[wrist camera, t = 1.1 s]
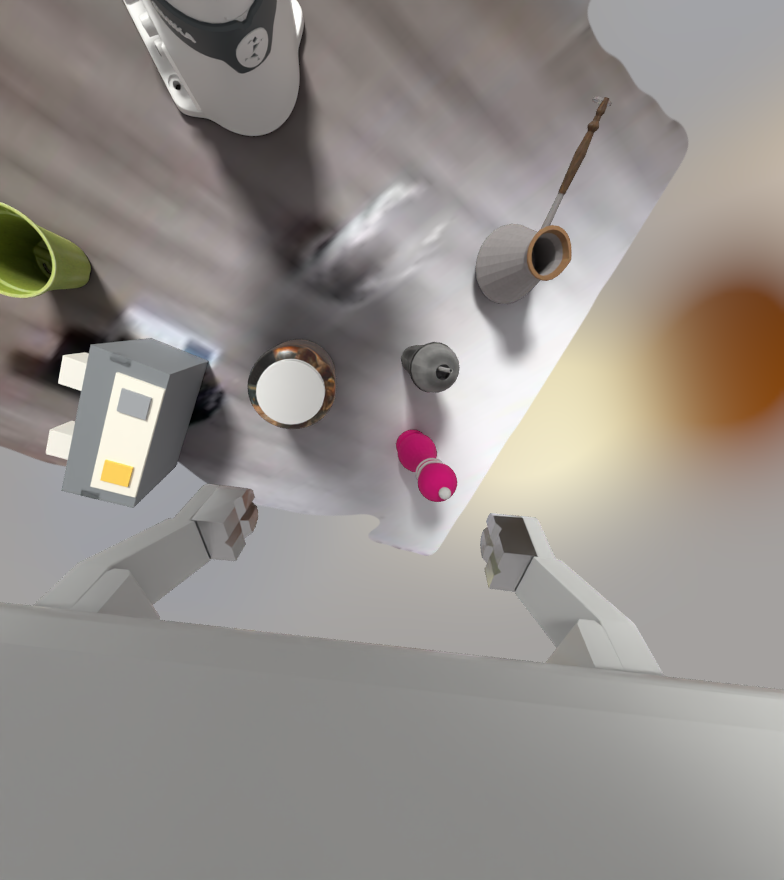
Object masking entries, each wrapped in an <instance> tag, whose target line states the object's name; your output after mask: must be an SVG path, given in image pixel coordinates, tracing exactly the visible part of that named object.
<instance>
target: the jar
mask: <svg viewBox="0 0 784 880" xmlns="http://www.w3.org/2000/svg"><path fill="white" fill-rule="evenodd" d="M336 390H337V381H336V373H335V367H334V364H333V361H332V359H331V357H330V356H329V354H328V353H327V352H326V351H325V350H324V349H323V348H322V347H321V346H319V345H318V344H316V343H314V342H312V341H309V340H304V339H293V340H289V341H285V342H283V343H281V344H279V345H277V346H275V347H273V348H272V349H270V350H268V351H267V352H266V353H264V354H263V355H262V356H261V357H260V358H259V359H258V360H257V361H256V363H255V364H254V366H253V368H252V370H251V372H250V375H249V379H248V394H249V398H250V401H251V404H252V406H253V407H254V409H255V410H256V412H257V413H258V414H259V415H260V416H261V417H262V418H263V419H264V420H266V421H267V422H269V423H271V424H273V425H275V426H277V427H281V428H286V429H300V428H305V427H308V426H311V425H313V424H315V423H316V422H318V421H319V420H321V419H322V418H323V417H324V416H325V415H326V414H327V413H328V411H329V410H330V408H331V407H332V405H333V402H334V400H335V396H336Z"/></svg>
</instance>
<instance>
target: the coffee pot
mask: <svg viewBox="0 0 784 880" xmlns="http://www.w3.org/2000/svg"><path fill="white" fill-rule="evenodd" d="M595 99H598V100H602V102H599V101H597V100H595ZM592 100H593V101H594V102H595V103H597V104H600V105H599V107H598V109H597V111H596V116H595V117H594V119H593V121H592V122H591V123H589V124H588V132H587V133H586V135H585V137H584V138H583V140H582V142H581V143H580V145H579V147H578V149H577V150H576V152H575V154H574V157H573V159H572V161H571V164H570V166H569V168H568V171H567V173H566V175H565V178H564V180H563V182H562V185H561V187H560V189H559V193H558V195H557V197H556V199H555V201H554V203H553V205H552V207H551V209H550V211H549V213H548V215H547V217H546V219H545V221H544V223H543V225H542V227H541V230H539V231H538V232H536V231H534V230H532V229H529V228H527V227H525V226H522V225H518V224H509V225H504V226H501V227H500V228H498V229H496V230H494V231H493V232H492V233H491V234H490V235H489V236H488V237H487V238H486V240H485V241H484V243H483V245H482V246H481V248H480V251H479V254H478V257H477V261H476V279H477V282H478V285H479V287H480V289H481V290H482V292H483V293H484V295H485V296H486V297H488V298H489V299H490V300H491V301H494V302H496V303H499V304H509V303H513V302H516V301H518V300H520V299H521V298H523V297H524V296H525V295H526V294H527V293H529V292H530V291H531V290H532V288H533V287H534V286H535V285H536V284H537V283H538V282H539V281H540V280H543V281H547V280H552V279H553V278H555V277H557V276H558V275H559V274H560V273H561V272H562V271H563V270H564V269H565V268H566V267H567V265H568V264H569V262H570V261H571V243H570V238H569V236H568V234H567V233H566V231H565V230H564V229H562V228H561V227H559V226H553V225H551V226H550V224H551V222H552V220H553V218H554V215H555V213H556V211H557V209H558V207H559V204H560V202H561V200H562V198H563V196H564V194H565V193H566V191H567V189H568V187H569V185H570V184H571V182H572V180H573V178H574V176H575V174H576V172H577V170H578V168H579V167H580V165H581V163H582V161H583V159H584V157H585V155H586V152H587V150H588V147H589V144H590V142H591V139H592V136H593V133H594V132H595V131H597V130H598V128H599V121H600V118H601V116H602V115H603V114H604V112H605V110H606V107H607V106H610V105H611V104H612V103H611V102H610V101H609V98H606V97H605V98H601V97H593V99H592Z"/></svg>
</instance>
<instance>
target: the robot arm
mask: <svg viewBox="0 0 784 880" xmlns="http://www.w3.org/2000/svg"><path fill="white" fill-rule="evenodd" d="M123 1H124V3H125V5H126V7H127V9H128V11H129V13H130V15H131V17H132V19H133V21H134V23H135V25H136V27H137V29H138V31H139V33H140V35H141V37H142V39H143V41H144V43H145V45H146V47H147V49H148V51H149V53H150V55H151V57H152V59H153V61H154V63H155V65H156V67H157V69H158V71H159V73H160V75H161V77H162V79H163V81H164V82H165V84H166V86H167V88H168V90H169V92H170V94H171V96H172V98H173V100H174V102H175V104H176V106H177V107H178V109H179V110H180V111H181V112H182V113H184V114H186V115H189V116H193V117H200V118H207V119H210V120H212V121H214V122H216V123H217V124H219V125H221V126H222V127H224V128H226V129H228V130H230V131H232V132H235V133H238V134H242V135H247V136H259V135H264V134H267V133H270V132H272V131H274V130H276V129H277V128H278V127H280V126H281V125H282V124H283V123H284V122H285V121H286V120H287V118H288V117H289V115H290V114H291V112H292V110H293V108H294V105H295V103H296V99H297V95H298V90H299V79H300V74H299V58H298V49H299V45H300V41H301V37H302V33H303V27H304V19H303V14H302V10H301V7H300V5H299V3H298V2H297V0H123ZM176 85H181V89H180V90H176V89H175V87H176ZM254 498H255V496H254V493H253V490H252V489H248V488H240V487H233V486H225V485H215V484H206V485H203V486H202V487H201V488H200V489H199V490H198V492H197V493H196V494H195V495H194V496H193V497H192V498H191V499H190V501H189V502H188V503H187V504H186V505H185V506H184V507H183V508H182V509H181V510H180V512H179V513H178V514H177V515H176V516H175V517H174V518H173V519H171V518H168V519H166V520H164V521H162V522H160V523H158V524H156V525H154V526H152V527H150V528H148V529H146V530H144V531H142V532H140V533H138V534H136V535H134V536H132V537H130V538H128V539H126V540H124V541H122V542H120V543H118V544H116V545H113V546H112V547H109V548H107V549H105V550H104V551H101V552H99V553H98V554H95V555H93V556H91V557H89V558H87V559H85V560H83V561H81V562H79V563H78V564H77V565H76V566H75V567H74V568H72V569H71V570H70V571H69V572H68V573H67V574H66V575H65V576H64V577H63V578H62V579H61V580H60V581H58V582H57V583H56V584H55V585H54V586H53V587H52V588H51V589H50V590H49V591H48V592H47V593H46V594H45V595H44V596H42V597H41V598H40V599H39V600H38V601H37V602H36V603H35V604H34V605H33V606H31V605H22V604H13V603H4V602H0V880H784V689H775V688H765V687H757V686H748V685H739V684H730V683H720V682H712V681H703V680H694V679H685V678H676V677H667V676H664V674H663V673H662V671H661V669H660V667H659V666H658V664H657V662H656V660H655V659H654V657H653V655H652V653H651V652H650V650H649V648H648V646H647V645H646V643H645V641H644V639H643V638H642V636H641V634H640V632H639V631H638V629H637V627H636V625H635V624H634V623H633V622H632V621H631V620H630V619H628V618H627V617H626V616H625V615H624V614H623V613H621V612H620V611H619V610H618V609H617V608H616V607H615V606H613V605H612V604H611V603H610V602H609V601H608V600H607V599H605V598H604V597H603V596H602V595H601V594H600V593H598V592H597V591H596V590H595V589H594V588H593V587H591V586H590V585H589V584H588V583H587V582H586V581H585V580H583V579H582V578H581V577H580V576H579V575H578V574H577V573H575V572H574V571H573V570H572V569H571V568H570V567H569V566H567V565H566V564H565V563H564V562H563V561H562V560H560V559H556V558H555V556H554V554H553V552H552V550H551V547H550V545H549V543H548V540H547V538H546V536H545V534H544V532H543V529H542V527H541V525H540V523H539V521H538V519H537V518H535V517H525V516H514V515H504V514H492V513H490V514H489V516H488V518H487V521H486V522H487V526H488V527H487V528H485V529H484V530H483V532H482V536H481V544H480V546H481V554H482V558H483V559H484V560H485V561H486V562H487V565H486V568H485V573H486V578H487V583H488V587H489V588H490V589H498V590H505V591H512V592H515V594H516V596H517V597H518V598H519V599H520V601H521V602H522V603H523V605H524V606H525V607H526V609H527V610H528V611H529V612H530V614H531V615H532V616H533V618H534V619H535V620H536V621H537V623H538V624H539V625H540V627H541V628H542V629H543V631H544V632H545V633H546V635H547V636H548V637H549V638H550V640H551V641H552V642H553V644H554V645H555V646H556V650H555V651H554V652H553V654H552V655H551V656H550V657H549V659H548V660H547V661H546V663H541V662H533V661H524V660H515V659H506V658H496V657H487V656H479V655H469V654H460V653H451V652H443V651H434V650H424V649H416V648H407V647H398V646H389V645H381V644H372V643H362V642H354V641H345V640H336V639H327V638H318V637H309V636H300V635H291V634H282V633H273V632H264V631H254V630H246V629H237V628H228V627H219V626H210V625H201V624H192V623H183V622H174V621H165V620H160V616H159V614H158V613H157V611H156V610H155V608H154V607H153V604H154V603H156V602H157V601H158V600H160V599H161V598H162V597H163V596H165V595H166V594H167V593H169V592H170V591H171V590H173V589H174V588H175V587H176V586H178V585H179V584H180V583H182V582H183V581H184V580H186V579H187V578H188V577H189V576H191V575H192V574H193V573H195V572H196V571H197V570H199V569H200V568H201V567H202V566H204V565H205V564H206V563H208V562H209V561H210V559H216V560H228V561H236V560H237V558H238V557H239V555H240V553H241V551H242V550H243V548H244V546H245V545H246V543H245V540H244V538H246V537H247V536H249V535H250V534H251V533H252V532H253V530H254V529H255V527H256V524H257V520H258V509H257V506H256V505H255V504H254V503H253V502H252V501H253V499H254Z"/></svg>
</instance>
